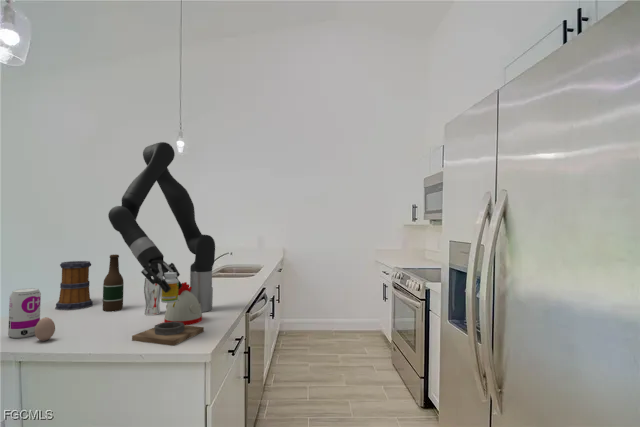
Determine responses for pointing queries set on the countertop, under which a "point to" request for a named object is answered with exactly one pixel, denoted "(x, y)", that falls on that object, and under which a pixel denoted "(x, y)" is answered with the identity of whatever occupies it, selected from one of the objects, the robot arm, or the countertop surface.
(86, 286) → the mug
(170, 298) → the supplement bottle
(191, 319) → the kitchen timer
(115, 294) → the beer bottle
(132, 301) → the countertop surface
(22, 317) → the supplement can
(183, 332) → the socket board
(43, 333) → the egg
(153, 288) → the beer glass
